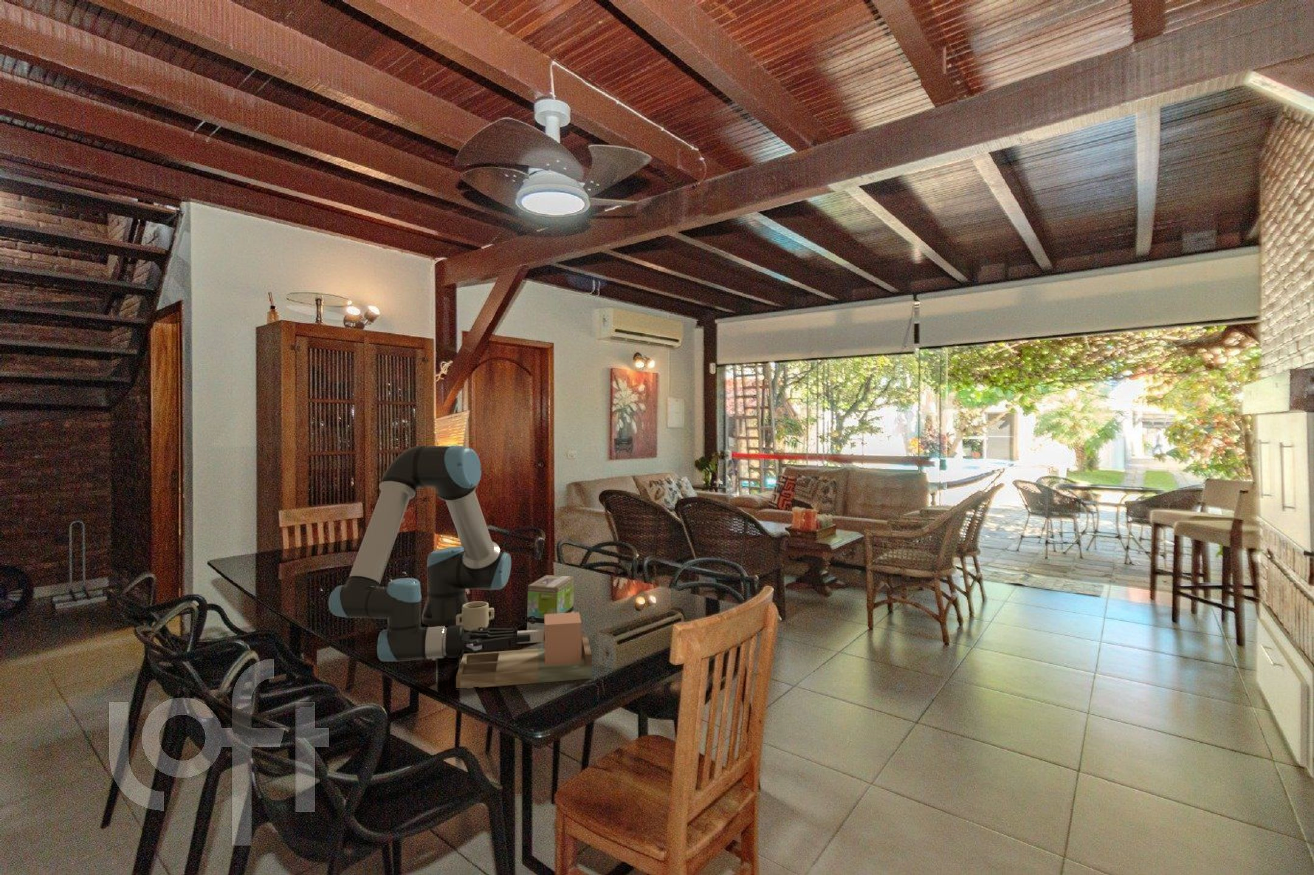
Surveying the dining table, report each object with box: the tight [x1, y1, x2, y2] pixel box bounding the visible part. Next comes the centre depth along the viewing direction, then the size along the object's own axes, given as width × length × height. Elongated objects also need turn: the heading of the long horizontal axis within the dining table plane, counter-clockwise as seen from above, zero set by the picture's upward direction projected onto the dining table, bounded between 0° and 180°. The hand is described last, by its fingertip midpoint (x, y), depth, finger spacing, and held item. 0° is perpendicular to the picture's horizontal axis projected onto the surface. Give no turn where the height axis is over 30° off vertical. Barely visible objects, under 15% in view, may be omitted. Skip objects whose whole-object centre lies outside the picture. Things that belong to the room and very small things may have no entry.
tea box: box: [526, 574, 575, 636], centre depth 189 cm, size 15×10×15 cm
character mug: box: [456, 600, 495, 654], centre depth 168 cm, size 11×7×13 cm, turn 129°
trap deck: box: [455, 633, 593, 689], centre depth 153 cm, size 15×32×6 cm, turn 101°
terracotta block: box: [544, 611, 582, 665], centre depth 155 cm, size 9×9×10 cm
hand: (543, 635), depth 154 cm, fingers closed
